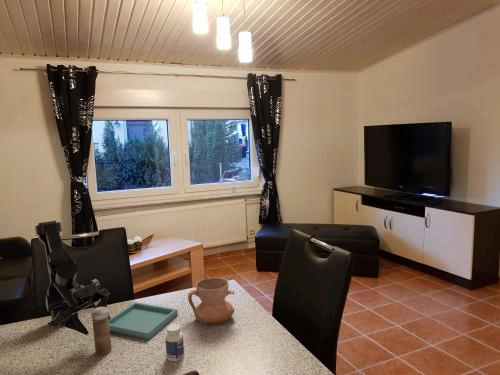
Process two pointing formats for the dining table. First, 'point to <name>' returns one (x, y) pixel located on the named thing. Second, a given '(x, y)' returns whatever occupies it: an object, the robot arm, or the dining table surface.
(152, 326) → the tray
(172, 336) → the pill bottle
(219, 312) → the ceramic jug
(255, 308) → the dining table surface
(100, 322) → the shaker
